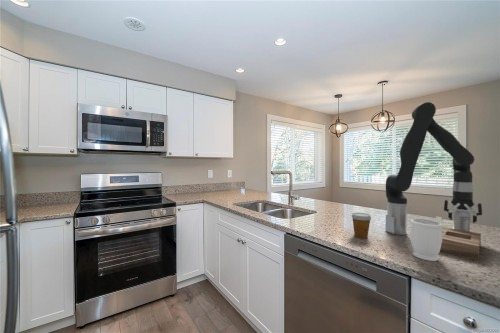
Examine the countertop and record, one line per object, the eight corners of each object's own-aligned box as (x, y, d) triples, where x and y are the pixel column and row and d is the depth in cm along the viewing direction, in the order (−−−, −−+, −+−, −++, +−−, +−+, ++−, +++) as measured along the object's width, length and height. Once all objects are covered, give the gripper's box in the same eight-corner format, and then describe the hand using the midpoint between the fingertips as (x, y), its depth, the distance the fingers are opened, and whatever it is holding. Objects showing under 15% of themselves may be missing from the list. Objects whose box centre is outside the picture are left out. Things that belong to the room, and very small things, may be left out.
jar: (403, 252, 95) (404, 218, 95) (425, 251, 96) (425, 218, 96) (425, 263, 85) (426, 225, 84) (449, 262, 85) (449, 225, 85)
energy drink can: (464, 237, 115) (464, 209, 115) (472, 241, 109) (473, 212, 109) (450, 236, 116) (451, 209, 116) (458, 240, 111) (459, 211, 110)
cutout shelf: (478, 260, 87) (479, 246, 87) (433, 250, 98) (434, 237, 98) (480, 245, 103) (480, 233, 103) (441, 238, 114) (442, 226, 113)
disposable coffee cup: (370, 235, 118) (370, 213, 117) (371, 240, 109) (372, 217, 109) (351, 232, 122) (351, 211, 121) (351, 237, 113) (351, 215, 113)
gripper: (482, 191, 110) (482, 222, 110) (445, 188, 120) (444, 217, 121) (482, 192, 105) (481, 225, 105) (443, 189, 115) (443, 219, 116)
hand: (462, 221), depth 113 cm, fingers open, 8 cm apart
